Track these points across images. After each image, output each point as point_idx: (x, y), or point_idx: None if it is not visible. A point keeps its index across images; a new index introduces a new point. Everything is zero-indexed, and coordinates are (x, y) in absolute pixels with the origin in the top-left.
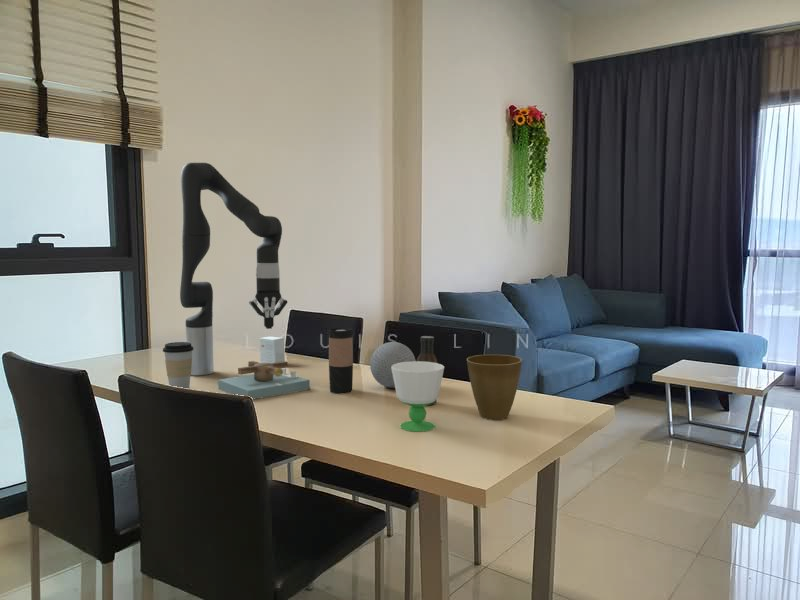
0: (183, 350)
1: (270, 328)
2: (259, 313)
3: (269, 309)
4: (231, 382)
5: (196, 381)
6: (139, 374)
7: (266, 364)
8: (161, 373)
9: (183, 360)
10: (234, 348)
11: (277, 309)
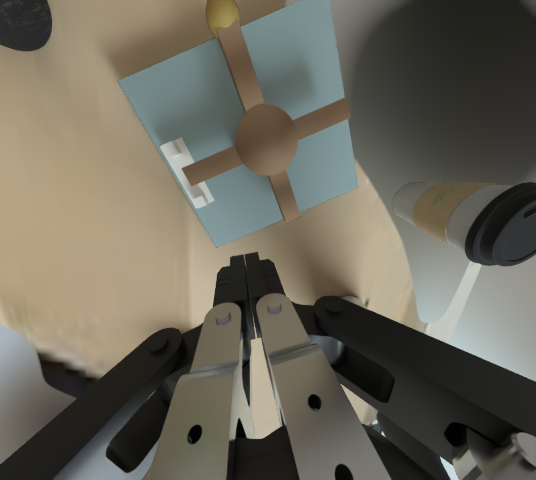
0: (522, 188)
1: (238, 256)
2: (360, 312)
3: (248, 409)
4: (340, 143)
5: (363, 258)
6: (415, 317)
7: (257, 141)
8: (390, 318)
9: (480, 187)
10: (266, 435)
11: (147, 434)
